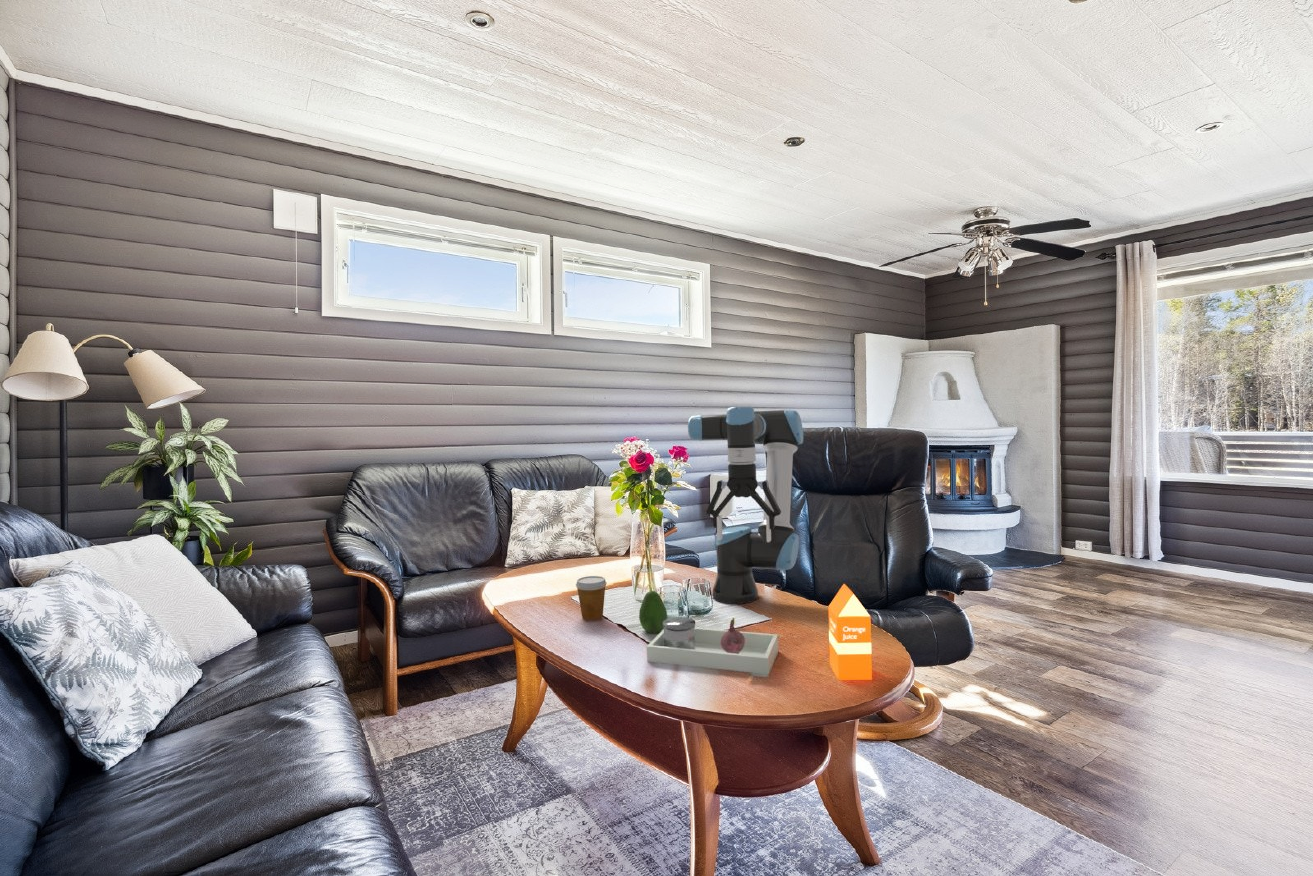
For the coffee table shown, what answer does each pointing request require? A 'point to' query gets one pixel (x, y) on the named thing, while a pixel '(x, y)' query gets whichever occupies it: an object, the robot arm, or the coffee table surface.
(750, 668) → the grey tray
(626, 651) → the coffee table surface
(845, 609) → the orange juice
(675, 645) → the tin
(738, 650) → the vegetable
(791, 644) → the coffee table surface
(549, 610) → the coffee table surface
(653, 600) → the avocado
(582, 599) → the disposable coffee cup
